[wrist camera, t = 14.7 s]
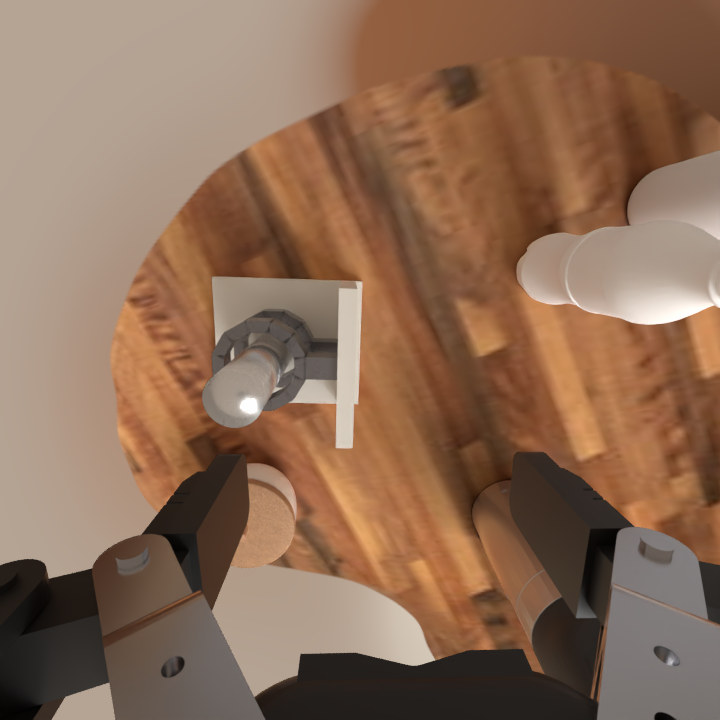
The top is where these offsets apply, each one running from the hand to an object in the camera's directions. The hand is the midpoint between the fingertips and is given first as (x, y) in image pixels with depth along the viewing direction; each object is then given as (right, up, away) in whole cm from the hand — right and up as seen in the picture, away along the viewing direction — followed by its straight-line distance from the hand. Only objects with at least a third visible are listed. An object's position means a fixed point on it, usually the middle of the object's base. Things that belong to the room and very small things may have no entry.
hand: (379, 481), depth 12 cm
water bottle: (+20, +14, +32) cm, 40 cm away
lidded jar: (-13, -12, +38) cm, 42 cm away
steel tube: (-10, +5, +32) cm, 34 cm away
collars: (-8, +5, +30) cm, 32 cm away
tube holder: (-10, +6, +33) cm, 35 cm away
